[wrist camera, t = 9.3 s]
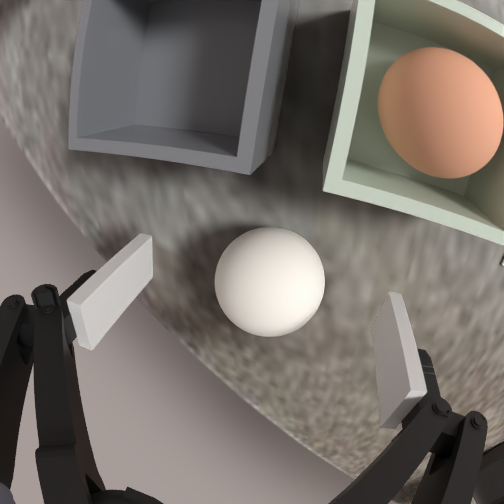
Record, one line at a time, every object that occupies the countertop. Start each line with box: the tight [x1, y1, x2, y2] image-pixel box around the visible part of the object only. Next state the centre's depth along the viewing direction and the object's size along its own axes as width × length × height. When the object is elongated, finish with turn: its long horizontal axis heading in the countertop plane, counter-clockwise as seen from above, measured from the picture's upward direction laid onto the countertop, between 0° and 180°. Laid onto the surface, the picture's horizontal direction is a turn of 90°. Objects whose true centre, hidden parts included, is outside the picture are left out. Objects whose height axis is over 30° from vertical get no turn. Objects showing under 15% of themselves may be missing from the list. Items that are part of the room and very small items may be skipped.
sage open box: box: [323, 0, 504, 246], centre depth 11 cm, size 9×9×6 cm
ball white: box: [215, 227, 325, 337], centre depth 17 cm, size 6×6×6 cm
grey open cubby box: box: [68, 0, 299, 175], centre depth 13 cm, size 9×9×6 cm
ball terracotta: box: [378, 47, 503, 179], centre depth 11 cm, size 6×6×6 cm
